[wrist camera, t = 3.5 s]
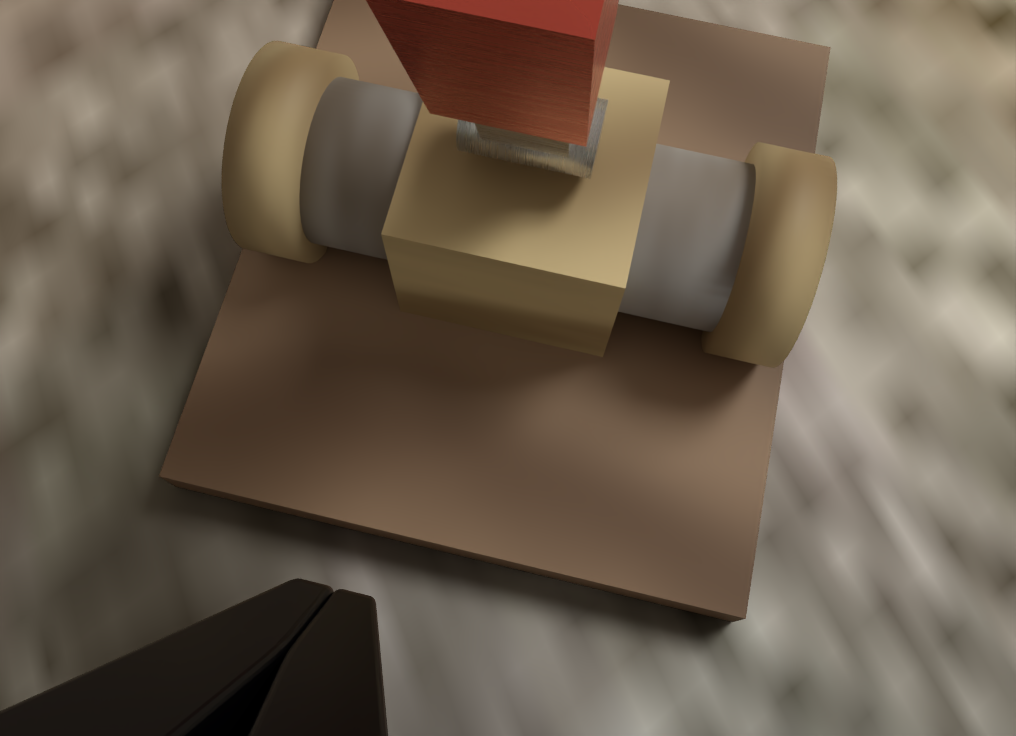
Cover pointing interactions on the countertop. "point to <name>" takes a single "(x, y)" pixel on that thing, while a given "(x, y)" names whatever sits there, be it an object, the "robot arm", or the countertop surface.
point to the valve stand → (518, 310)
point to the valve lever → (509, 73)
